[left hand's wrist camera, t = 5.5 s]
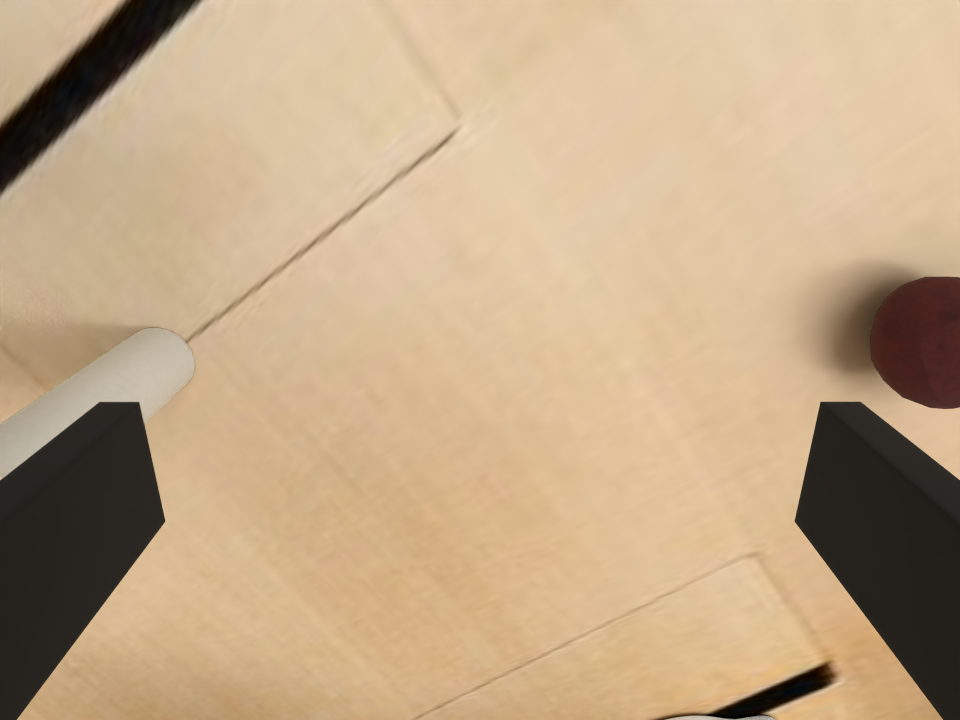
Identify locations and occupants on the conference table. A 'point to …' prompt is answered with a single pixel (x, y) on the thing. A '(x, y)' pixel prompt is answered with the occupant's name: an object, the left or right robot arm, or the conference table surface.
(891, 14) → the conference table surface
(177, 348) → the off-white tall cylinder
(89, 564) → the left robot arm
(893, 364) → the potato
